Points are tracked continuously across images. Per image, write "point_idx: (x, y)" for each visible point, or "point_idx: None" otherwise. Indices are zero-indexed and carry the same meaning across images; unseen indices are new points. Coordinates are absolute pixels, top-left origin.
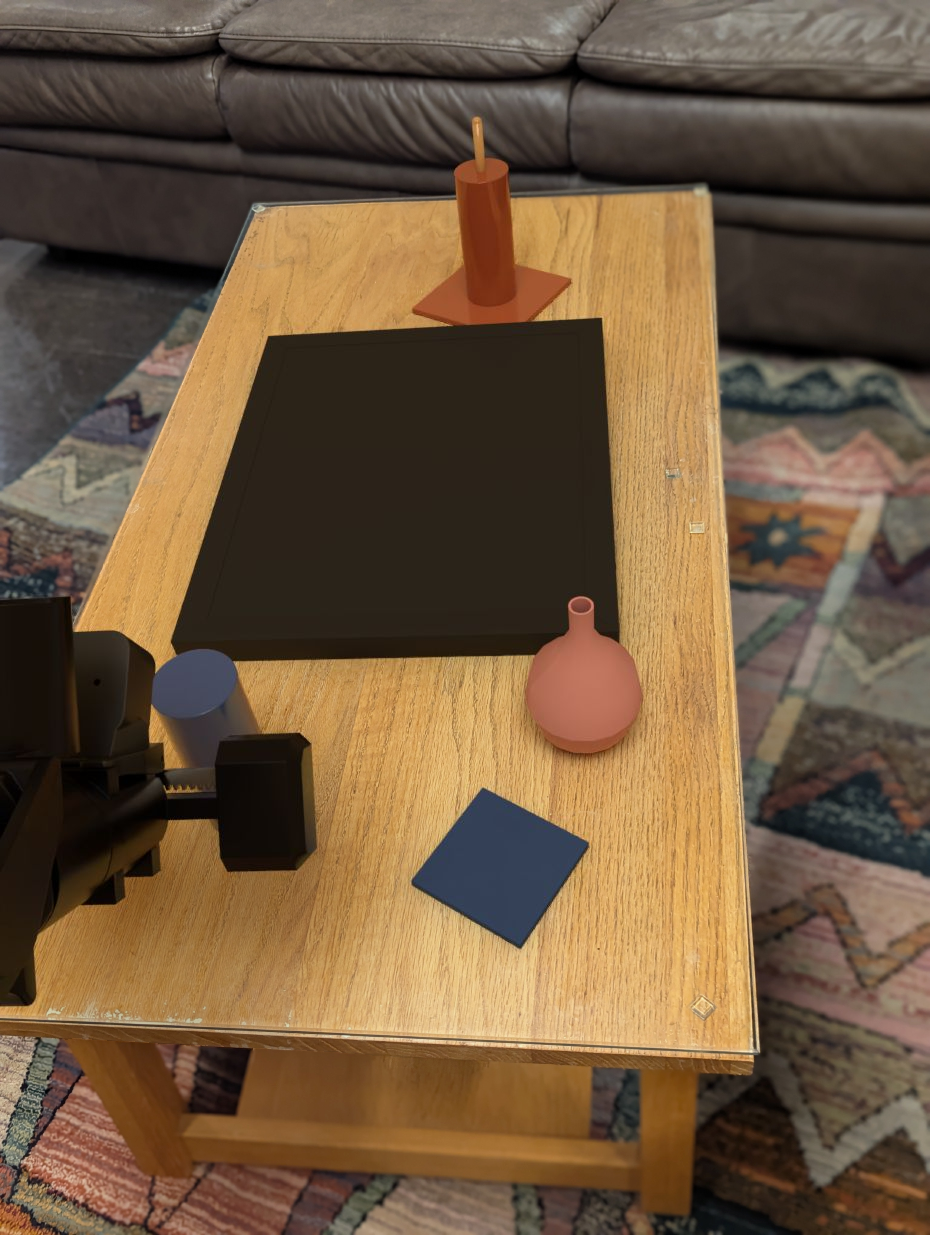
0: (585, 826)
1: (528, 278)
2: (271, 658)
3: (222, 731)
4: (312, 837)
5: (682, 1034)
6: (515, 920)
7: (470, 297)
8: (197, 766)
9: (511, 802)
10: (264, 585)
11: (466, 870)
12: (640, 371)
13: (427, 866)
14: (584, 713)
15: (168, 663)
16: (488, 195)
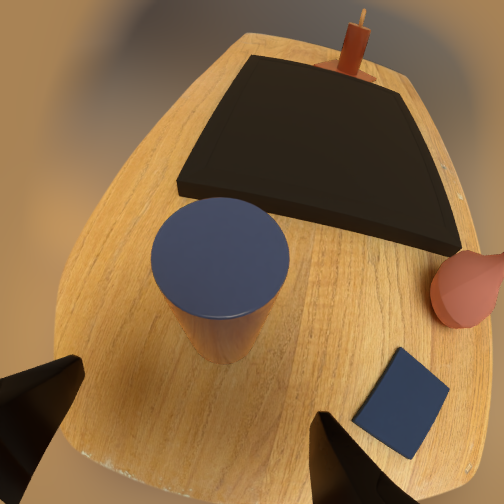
0: (445, 375)
1: (360, 72)
2: None
3: (249, 326)
4: None
5: (458, 483)
6: (412, 445)
7: (339, 68)
8: (200, 341)
9: (416, 360)
10: (247, 154)
11: (389, 412)
12: (414, 119)
13: (365, 410)
14: (482, 314)
15: (184, 210)
16: (363, 33)
